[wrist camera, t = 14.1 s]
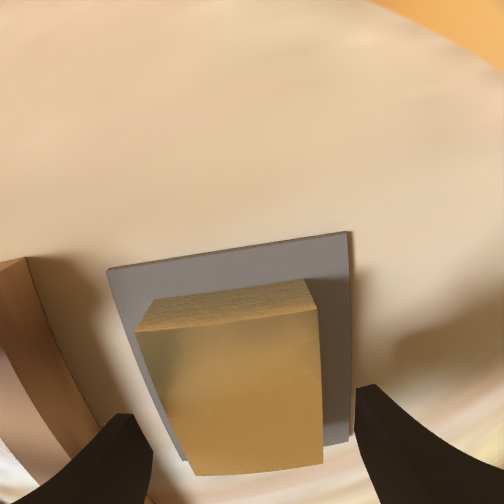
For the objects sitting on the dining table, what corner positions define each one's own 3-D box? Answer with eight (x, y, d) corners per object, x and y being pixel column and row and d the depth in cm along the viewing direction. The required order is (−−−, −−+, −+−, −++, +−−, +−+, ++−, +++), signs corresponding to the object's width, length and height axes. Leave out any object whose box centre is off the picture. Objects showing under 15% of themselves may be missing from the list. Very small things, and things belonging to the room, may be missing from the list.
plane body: (166, 518, 16) (156, 582, 10) (110, 511, 16) (94, 568, 10) (24, 257, 10) (-74, 319, 5) (-35, 271, 10) (-115, 321, 5)
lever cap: (314, 425, 12) (323, 463, 10) (201, 438, 12) (196, 476, 10) (303, 278, 10) (317, 309, 8) (153, 299, 10) (134, 332, 8)
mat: (346, 436, 13) (348, 441, 13) (183, 456, 13) (182, 460, 13) (343, 231, 10) (346, 233, 10) (109, 268, 10) (105, 271, 10)
